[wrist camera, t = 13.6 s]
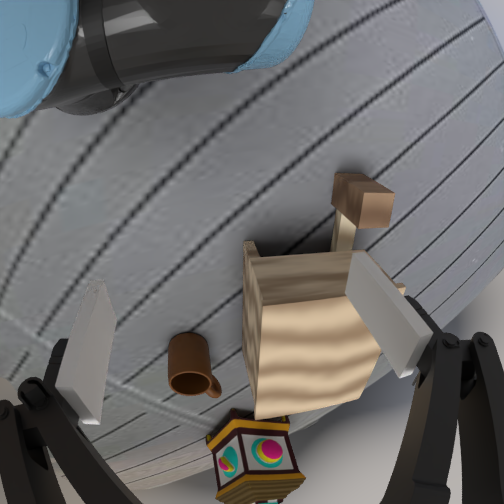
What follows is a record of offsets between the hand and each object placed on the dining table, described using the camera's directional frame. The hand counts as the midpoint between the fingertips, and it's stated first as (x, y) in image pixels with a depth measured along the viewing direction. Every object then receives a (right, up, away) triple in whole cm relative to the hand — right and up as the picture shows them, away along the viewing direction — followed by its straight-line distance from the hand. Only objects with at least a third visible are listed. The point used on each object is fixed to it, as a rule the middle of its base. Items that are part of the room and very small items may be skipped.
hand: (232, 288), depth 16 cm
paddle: (+15, +2, +35) cm, 39 cm away
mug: (-10, -17, +41) cm, 46 cm away
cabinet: (+8, -6, +39) cm, 40 cm away
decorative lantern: (-1, -46, +60) cm, 75 cm away
